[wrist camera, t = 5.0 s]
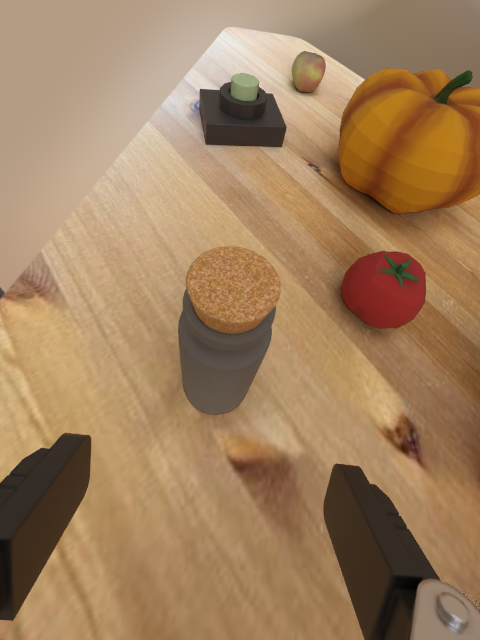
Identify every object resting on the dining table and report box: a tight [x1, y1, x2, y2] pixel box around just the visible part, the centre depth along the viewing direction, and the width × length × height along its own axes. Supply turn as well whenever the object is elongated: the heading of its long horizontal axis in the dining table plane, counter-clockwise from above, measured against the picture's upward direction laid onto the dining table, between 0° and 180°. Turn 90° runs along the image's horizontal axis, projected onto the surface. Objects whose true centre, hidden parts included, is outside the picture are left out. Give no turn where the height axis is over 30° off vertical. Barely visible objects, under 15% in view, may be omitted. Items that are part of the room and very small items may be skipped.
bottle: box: [178, 247, 280, 414], centre depth 22 cm, size 6×6×15 cm
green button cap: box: [230, 73, 259, 101], centre depth 45 cm, size 4×4×2 cm
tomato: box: [341, 251, 426, 329], centre depth 32 cm, size 8×8×7 cm
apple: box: [292, 51, 326, 92], centre depth 57 cm, size 6×8×6 cm
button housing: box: [200, 82, 286, 147], centre depth 48 cm, size 12×10×5 cm
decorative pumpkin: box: [338, 68, 480, 213], centre depth 41 cm, size 20×22×15 cm
